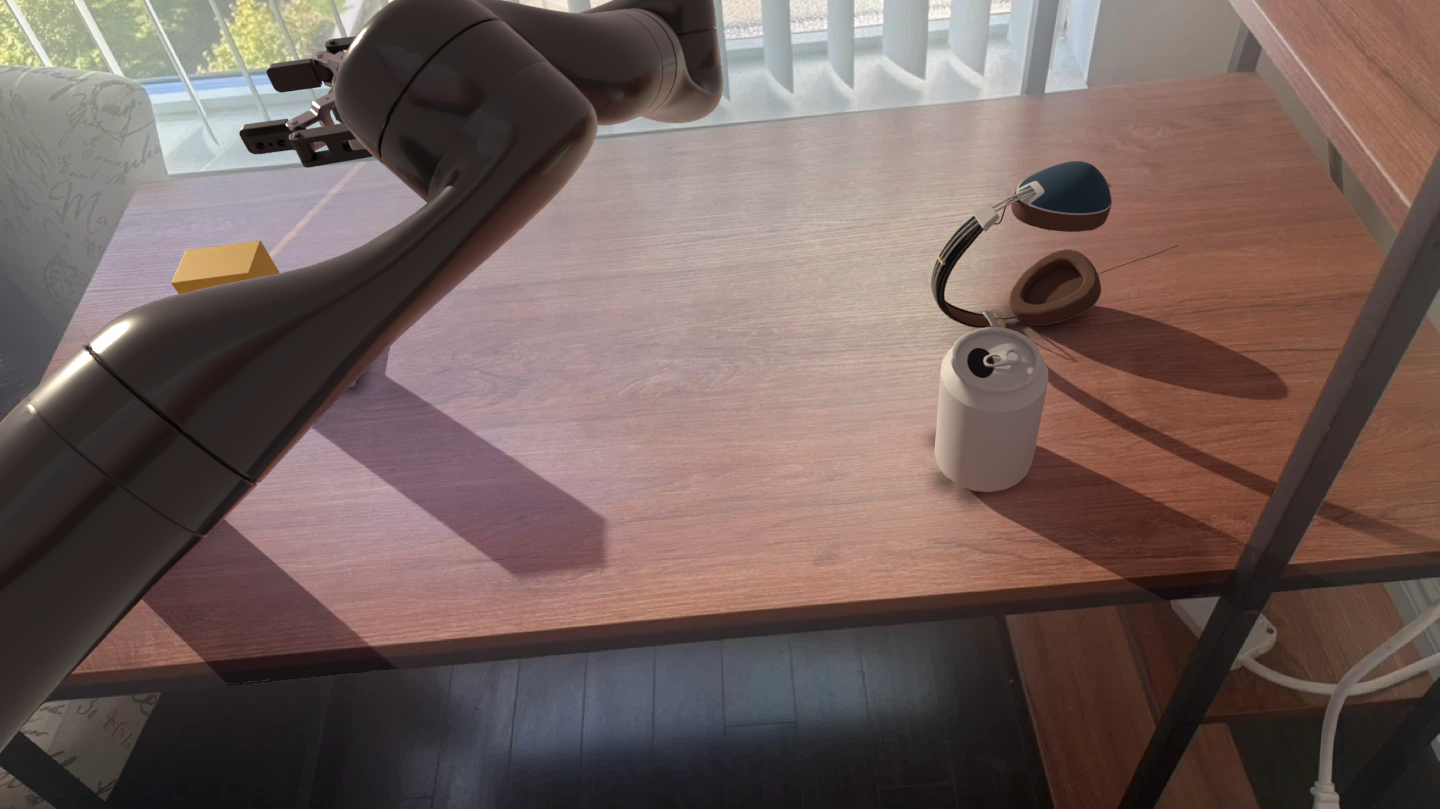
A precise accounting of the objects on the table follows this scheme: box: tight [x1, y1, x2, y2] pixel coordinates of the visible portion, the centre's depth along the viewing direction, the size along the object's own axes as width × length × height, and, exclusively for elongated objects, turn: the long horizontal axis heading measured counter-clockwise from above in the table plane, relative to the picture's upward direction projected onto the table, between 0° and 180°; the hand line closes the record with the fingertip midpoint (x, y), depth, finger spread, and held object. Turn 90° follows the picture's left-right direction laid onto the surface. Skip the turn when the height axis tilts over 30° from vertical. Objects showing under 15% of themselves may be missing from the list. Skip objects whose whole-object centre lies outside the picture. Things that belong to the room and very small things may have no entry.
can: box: [933, 327, 1049, 493], centre depth 76 cm, size 8×8×12 cm
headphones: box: [930, 160, 1179, 329], centre depth 84 cm, size 6×15×22 cm
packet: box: [171, 239, 280, 295], centre depth 94 cm, size 4×7×10 cm, turn 94°
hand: (258, 108), depth 79 cm, fingers open, 8 cm apart
